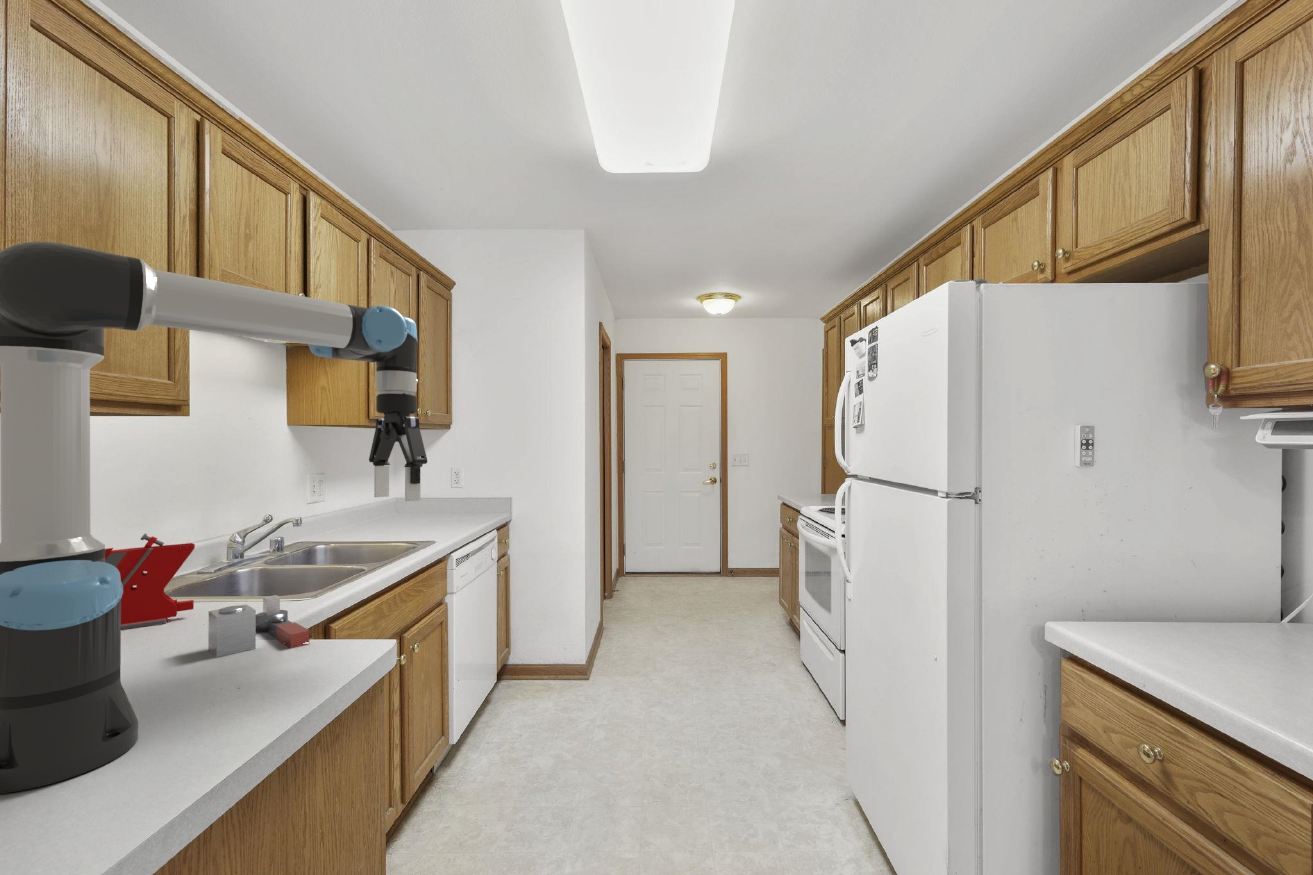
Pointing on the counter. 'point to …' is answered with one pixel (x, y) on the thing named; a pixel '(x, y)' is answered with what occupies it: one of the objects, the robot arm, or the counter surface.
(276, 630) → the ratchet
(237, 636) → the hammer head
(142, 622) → the tool
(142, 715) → the counter surface
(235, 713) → the counter surface
